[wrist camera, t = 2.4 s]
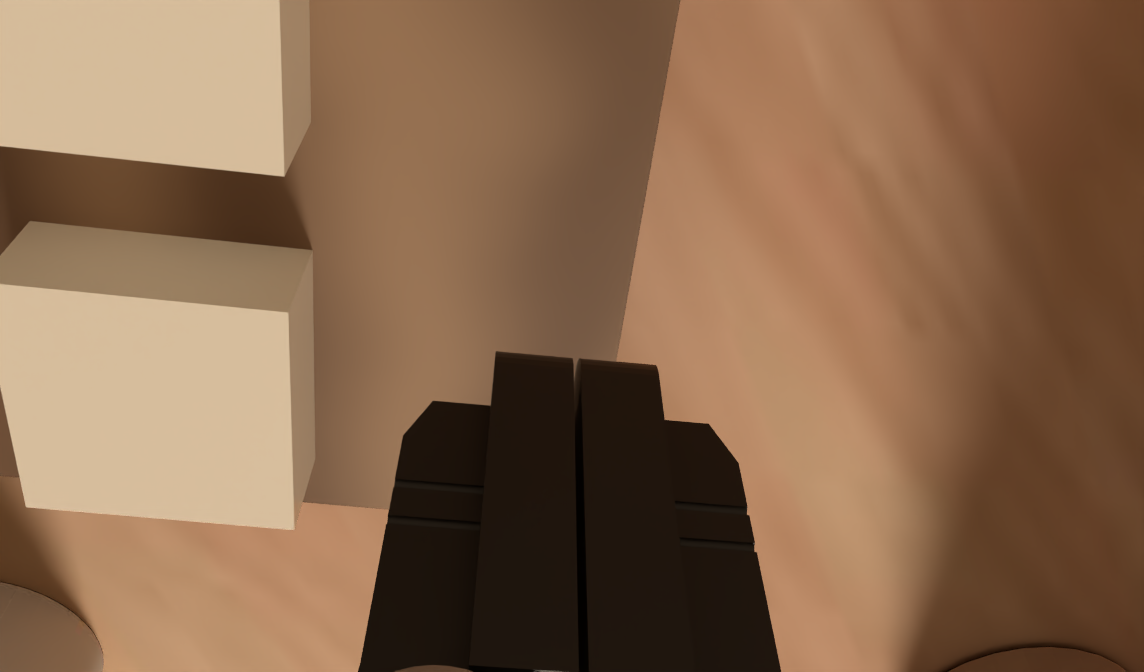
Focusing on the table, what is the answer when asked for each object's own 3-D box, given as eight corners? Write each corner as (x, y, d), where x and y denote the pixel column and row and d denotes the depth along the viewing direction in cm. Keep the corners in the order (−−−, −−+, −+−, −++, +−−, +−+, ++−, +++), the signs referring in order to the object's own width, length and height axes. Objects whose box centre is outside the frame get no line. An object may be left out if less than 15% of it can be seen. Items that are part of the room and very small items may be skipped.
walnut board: (695, -275, 23) (723, -245, 18) (584, 408, 33) (586, 526, 29) (-107, -386, 21) (-268, -382, 17) (34, 356, 32) (-47, 471, 27)
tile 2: (312, 250, 24) (288, 312, 22) (315, 458, 27) (294, 530, 25) (30, 221, 23) (-23, 281, 21) (67, 436, 27) (25, 507, 25)
